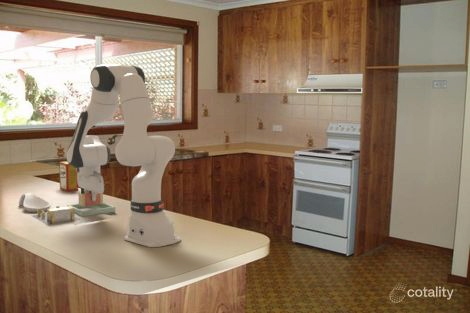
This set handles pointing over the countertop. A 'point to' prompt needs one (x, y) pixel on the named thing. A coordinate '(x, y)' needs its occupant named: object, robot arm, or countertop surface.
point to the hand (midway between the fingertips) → (90, 199)
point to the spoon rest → (33, 203)
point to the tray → (97, 209)
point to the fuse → (90, 199)
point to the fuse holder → (56, 215)
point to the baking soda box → (68, 177)
